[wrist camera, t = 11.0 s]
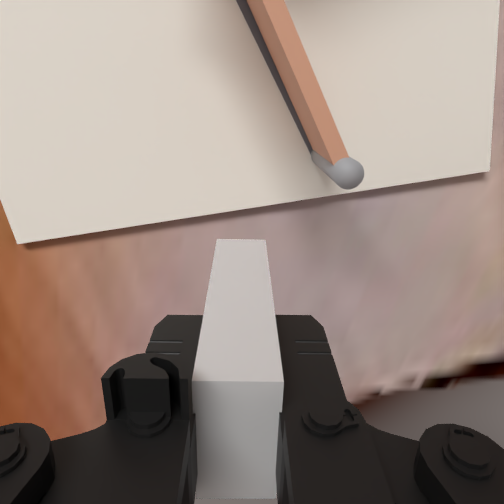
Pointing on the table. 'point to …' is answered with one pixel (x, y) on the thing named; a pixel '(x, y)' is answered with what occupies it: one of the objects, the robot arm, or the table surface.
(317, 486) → the robot arm
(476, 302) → the table surface
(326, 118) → the fence panel
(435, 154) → the board
